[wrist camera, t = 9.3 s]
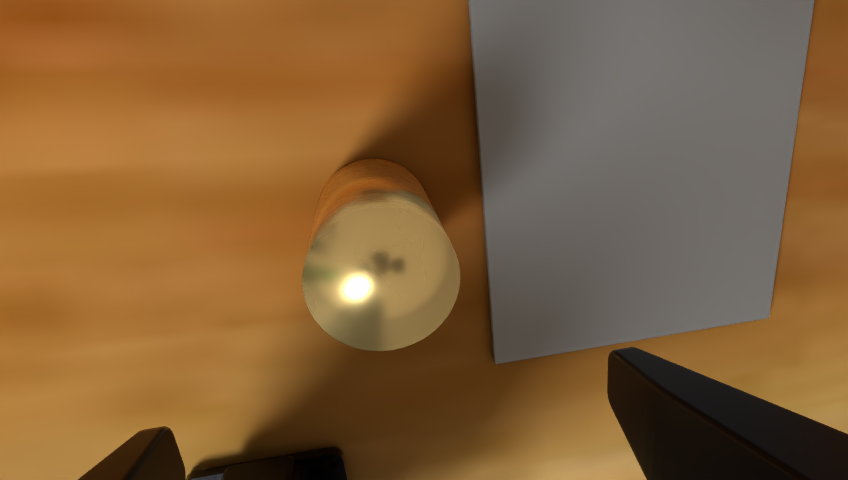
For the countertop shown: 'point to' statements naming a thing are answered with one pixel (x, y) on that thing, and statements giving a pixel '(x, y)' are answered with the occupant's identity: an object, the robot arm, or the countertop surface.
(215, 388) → the countertop surface
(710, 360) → the countertop surface
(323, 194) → the small wooden cylinder
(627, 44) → the lane mat
